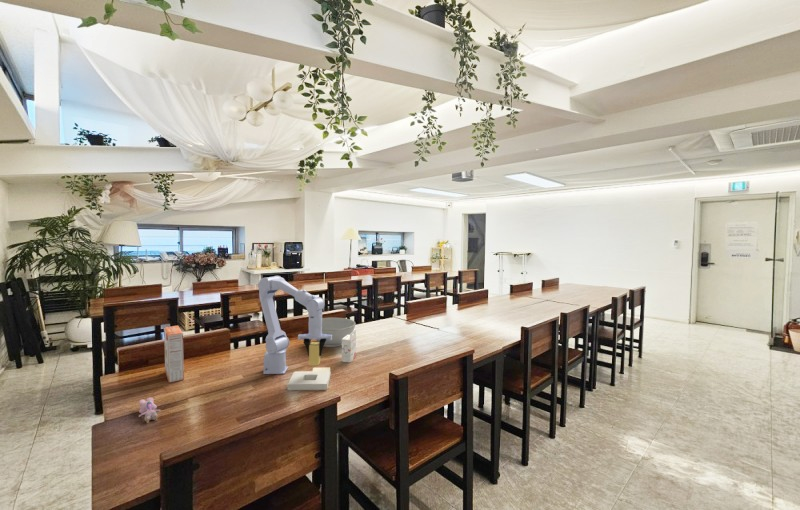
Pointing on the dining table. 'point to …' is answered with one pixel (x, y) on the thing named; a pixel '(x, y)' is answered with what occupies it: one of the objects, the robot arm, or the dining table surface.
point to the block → (314, 353)
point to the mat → (322, 369)
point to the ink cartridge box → (349, 347)
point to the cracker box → (173, 353)
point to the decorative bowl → (336, 330)
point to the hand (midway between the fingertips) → (314, 355)
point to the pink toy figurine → (148, 409)
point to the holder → (309, 380)
